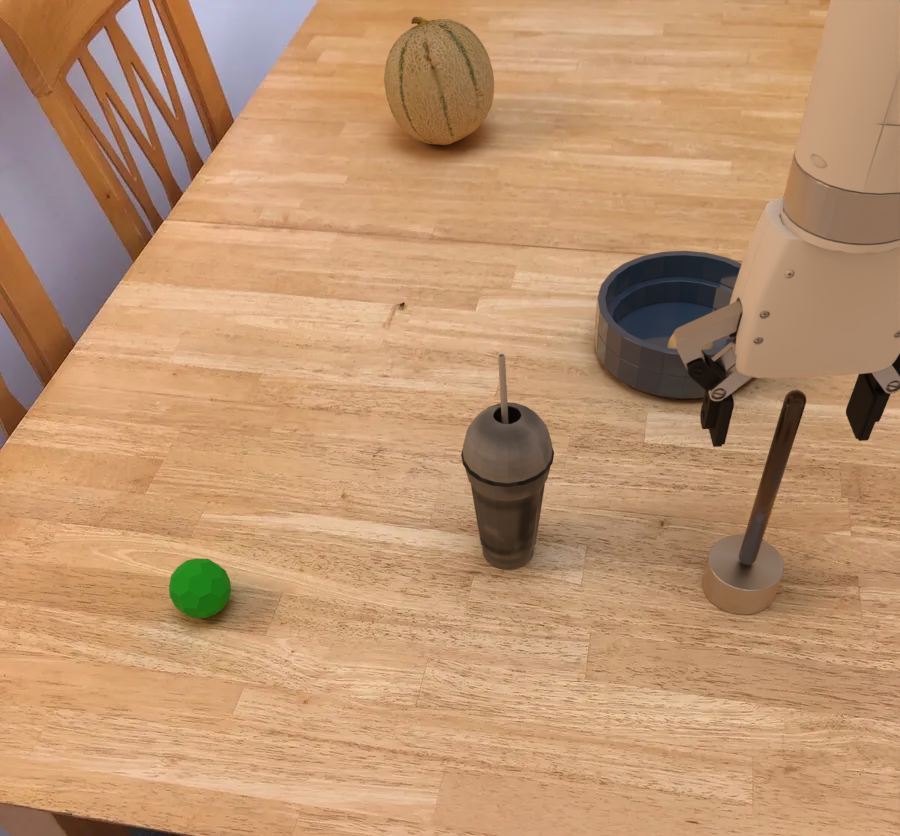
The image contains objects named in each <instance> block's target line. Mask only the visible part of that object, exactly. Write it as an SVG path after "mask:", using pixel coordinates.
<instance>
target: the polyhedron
mask: <svg viewBox="0 0 900 836" xmlns="http://www.w3.org/2000/svg"><path fill="white" fill-rule="evenodd" d="M168 591H169V594H168V595H169V597H170V599H171V602H172V604H173V606H174V607H175V608H176V609H177V610H179V611H180V612H181V613H183V614H185V615H186V616H188V617H190V618H195V619H204V618H205V619H206V618H209V617H212V616H215V615H216V614H218V613H219V612H221V611H222V610H223V609H224V608H225V606H226V605H227V603H228V602H229V600H230V597H231V592H232V585H231V580H230V577H229V575H228V573H227V571H226V569H225V568H223V567H222V566H220V565H219V564H218V563H216V562H214V561H213V560H211V559H209V558H197V557H195V558H193V559H187V560H185V561H184V562H183V563H181V564H180V565H179V566H177V567H176V569H175V570H174V571H173V573H172V574H171V575H170V580H169V585H168Z"/></svg>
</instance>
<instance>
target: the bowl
mask: <svg viewBox="0 0 900 836" xmlns="http://www.w3.org/2000/svg"><path fill="white" fill-rule="evenodd" d="M741 265H742V262H739V261H737V260H734V259H733V258H732V259H731V258H730V257H726V256H722V255H717V254H715V253H709V252H706V251H705V252H704V251H693V250H671V251H669V250H667V251H660V252H659V251H658V252H655V253H650V254H645V255H641V256H639V257H636V258H634V259H631V260H628V261H625V262H623V263H622V264H621V265H620V266H618V267H616V268H615V269H613V270H612V271H611V272H610V273H609V274H608V275H607V277H606V278H605V279H604V281H603V282H602V283H601V284H600V287H599V291H598V294H597V299H596V312H595V325H594V336H593V341H594V349H595V354H596V356H597V358H598V359H599V361H600V362H601V364H602V366H603V367H604V368H605V369H606V370H607V371H608V372H609V373H610V374H612V375H613V376H614V378H616V380H618V381H620V382H622V383H623V384H624V383H625V384H626V385H628V386H630V387H631V388H633V389H636V390H637V391H640V392H643V393H645V394H649V395H652V396H657V397H661V398H666V399H676V400H694V399H695V400H696V399H703V398H704V393H705V389H703V388H702V387H701V386H700V385H699V384H698V383H697V382H696V381H694V380H693V379H692V378H691V377H690V376H689V374H688V371H687V369H686V367H685V364H684V363H683V361H682V359H681V357H680V355H679V353H678V351H677V349H672V348H667V347H668V342H669V339H670V337H671V336H672V334H673V333H674V331H675V329H677V328H678V327H681V326H683V325H685V324H687V323H689V322H692V321H694V320H696V319H698V318H701V317H703V316H705V315H707V314H709V313H712V312H714V311H716V310H718V309H721V308H723V307H725V306H727V305H729V304H730V300H731V297H732V293H733V290H734V286H735V283H736V280H737V277H738V274H739V271H740V268H741ZM732 340H733V339H729V340H726V336H725V337H723V338H721V339H718V340H716V341H714V342H712V343H713V349H707V350H702V351H703V352H705V353H706V354H707V355H708V356H709V357H710V358H712V357H714V356H715V355H716V354H717V353H718V352H719V351H721V350H722V349H723V348H724V347H725V346H727V345H728V344H729V343H730V342H731V341H732ZM735 365H736V363H735V364H734V365H733V366H732V367H734V366H735ZM732 367H730V368H729V369H728V370H727V371H725V372H728V371H729V370H730V369H731V368H732ZM753 378H754V377H751V378H750V379H749V380H748V381H746V382H745V383H744V384H743V385H741V386H740V387H742V386H744V385H745V384H747V383H749V382H750V380H753Z"/></svg>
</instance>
